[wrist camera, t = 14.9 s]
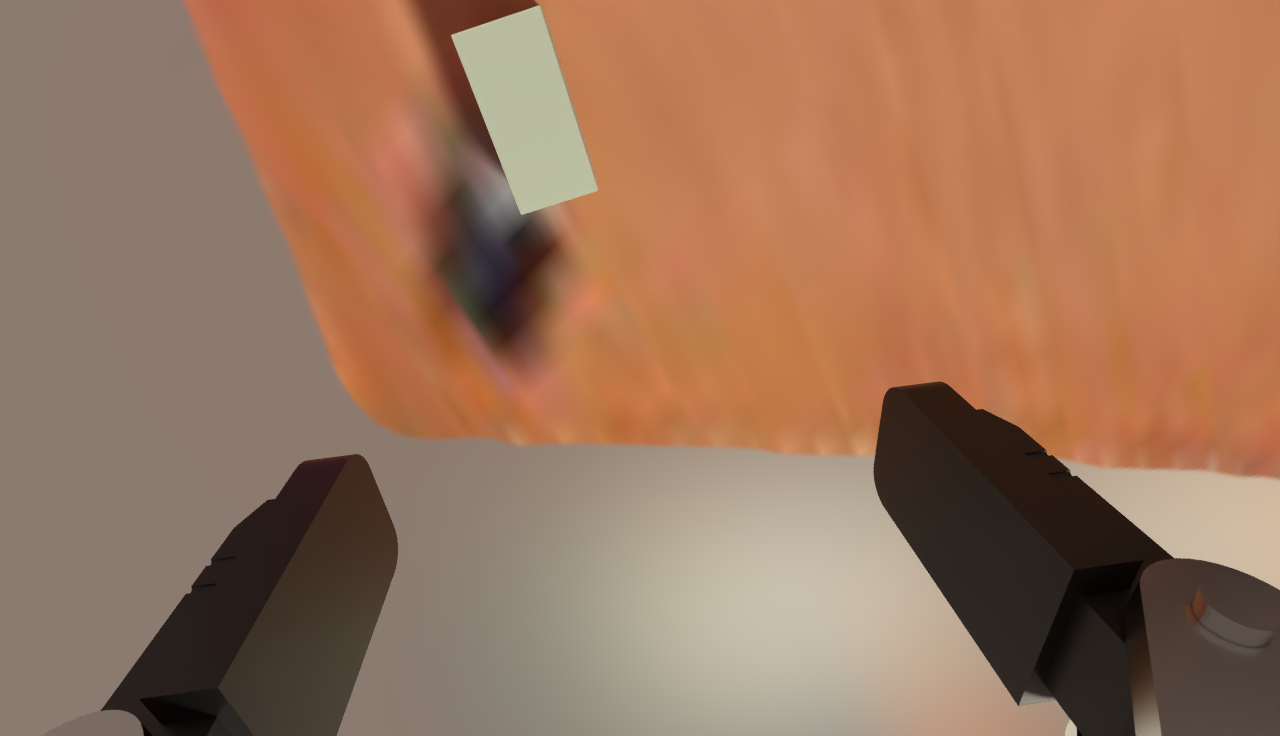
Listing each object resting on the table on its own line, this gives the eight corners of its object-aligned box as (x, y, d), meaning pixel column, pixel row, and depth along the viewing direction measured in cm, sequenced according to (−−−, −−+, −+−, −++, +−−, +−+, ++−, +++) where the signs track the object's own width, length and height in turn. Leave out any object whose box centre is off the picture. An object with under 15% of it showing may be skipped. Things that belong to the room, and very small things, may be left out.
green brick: (598, 190, 31) (595, 174, 36) (539, 5, 27) (544, 12, 31) (521, 214, 32) (528, 195, 36) (450, 35, 27) (468, 38, 32)
